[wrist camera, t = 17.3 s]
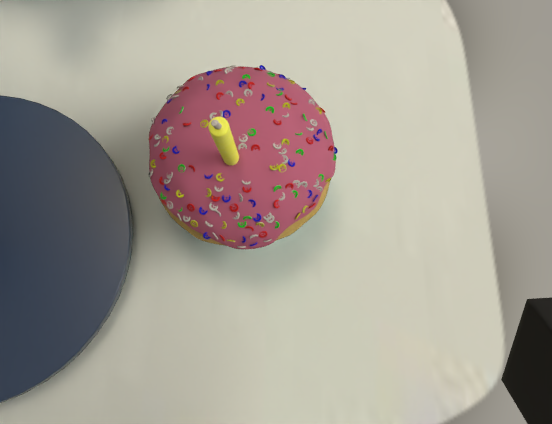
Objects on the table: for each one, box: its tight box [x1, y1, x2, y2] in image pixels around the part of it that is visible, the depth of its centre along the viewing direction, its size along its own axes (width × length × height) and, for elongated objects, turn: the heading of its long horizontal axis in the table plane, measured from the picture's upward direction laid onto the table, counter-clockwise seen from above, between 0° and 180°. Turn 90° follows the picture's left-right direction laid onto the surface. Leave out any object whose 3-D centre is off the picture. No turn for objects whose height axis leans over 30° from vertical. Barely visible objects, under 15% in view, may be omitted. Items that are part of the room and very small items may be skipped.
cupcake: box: [149, 65, 337, 249], centre depth 21 cm, size 9×8×12 cm
